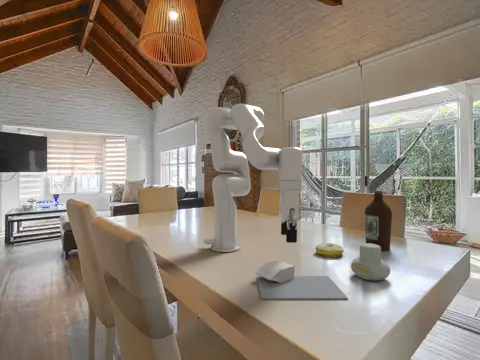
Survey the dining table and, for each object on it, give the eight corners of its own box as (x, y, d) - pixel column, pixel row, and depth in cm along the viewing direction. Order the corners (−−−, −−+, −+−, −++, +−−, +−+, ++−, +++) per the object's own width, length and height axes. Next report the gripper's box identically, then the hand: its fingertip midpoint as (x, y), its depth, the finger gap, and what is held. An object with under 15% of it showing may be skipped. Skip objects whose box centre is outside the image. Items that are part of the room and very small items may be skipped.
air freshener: (346, 274, 87) (346, 243, 87) (363, 270, 91) (363, 240, 91) (378, 286, 77) (378, 251, 77) (395, 281, 81) (395, 247, 81)
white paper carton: (278, 260, 88) (254, 266, 82) (294, 265, 82) (270, 272, 76) (278, 271, 88) (254, 278, 82) (294, 278, 82) (270, 286, 76)
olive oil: (376, 244, 125) (376, 189, 125) (397, 250, 116) (398, 191, 115) (358, 246, 121) (359, 190, 121) (379, 252, 111) (380, 191, 111)
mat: (261, 299, 69) (261, 298, 69) (256, 277, 84) (256, 276, 84) (347, 299, 69) (347, 297, 69) (328, 277, 84) (328, 276, 84)
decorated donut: (347, 254, 110) (347, 245, 109) (336, 260, 102) (336, 250, 102) (323, 249, 117) (323, 240, 116) (311, 254, 109) (311, 245, 109)
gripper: (274, 184, 97) (273, 232, 97) (282, 187, 79) (281, 245, 80) (295, 184, 97) (294, 232, 97) (308, 188, 80) (306, 246, 80)
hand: (288, 238), depth 89 cm, fingers open, 9 cm apart
